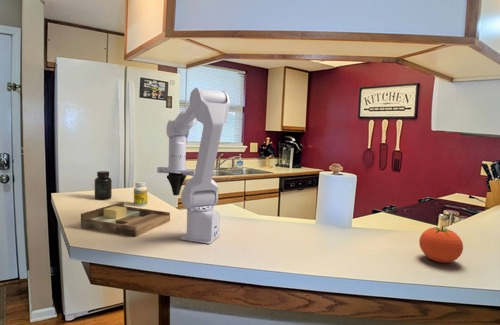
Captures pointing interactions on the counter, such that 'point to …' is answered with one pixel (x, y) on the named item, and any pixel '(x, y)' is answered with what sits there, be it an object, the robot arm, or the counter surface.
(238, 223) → the counter surface
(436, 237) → the tomato
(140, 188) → the supplement bottle
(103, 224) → the box
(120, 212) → the block
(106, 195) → the supplement bottle
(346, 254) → the counter surface
